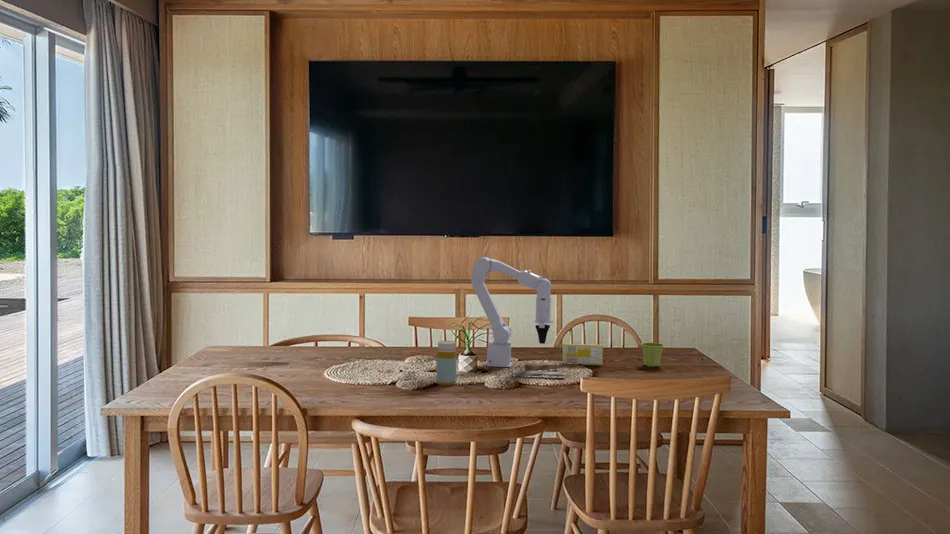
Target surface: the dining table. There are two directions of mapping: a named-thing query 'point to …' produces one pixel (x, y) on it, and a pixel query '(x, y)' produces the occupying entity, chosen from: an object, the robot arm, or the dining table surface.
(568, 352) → the candy box
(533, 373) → the floor strip
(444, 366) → the bottle
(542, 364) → the plank
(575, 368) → the dining table surface
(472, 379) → the dining table surface
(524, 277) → the robot arm
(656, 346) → the plant pot
